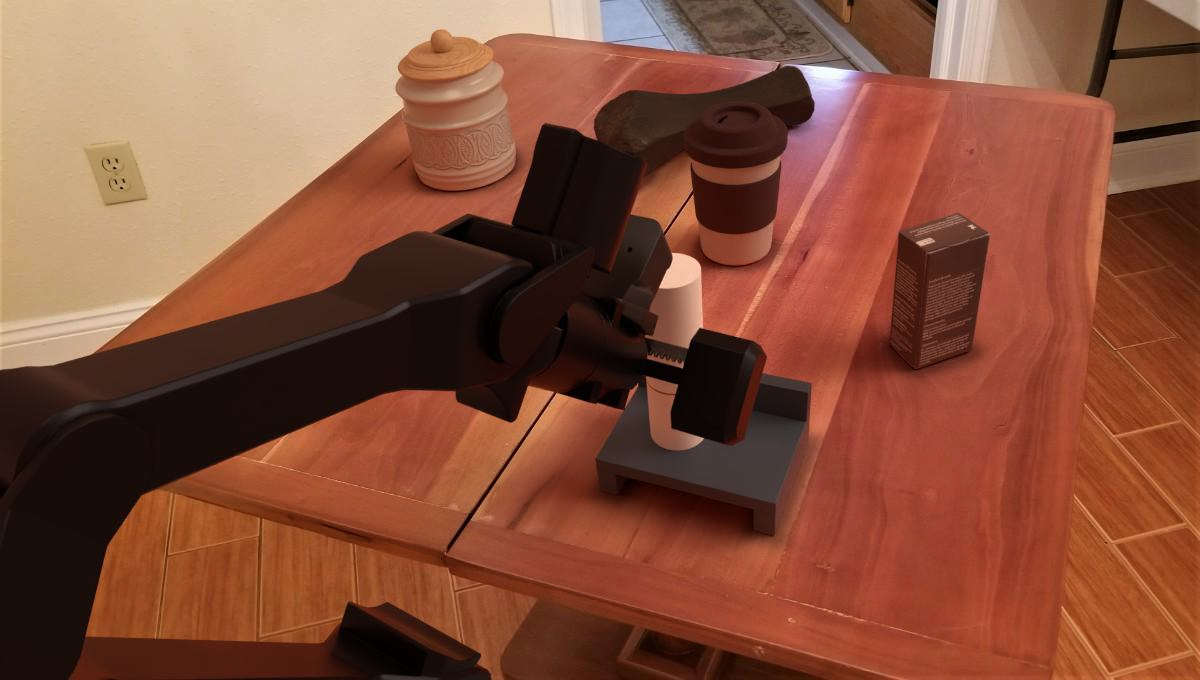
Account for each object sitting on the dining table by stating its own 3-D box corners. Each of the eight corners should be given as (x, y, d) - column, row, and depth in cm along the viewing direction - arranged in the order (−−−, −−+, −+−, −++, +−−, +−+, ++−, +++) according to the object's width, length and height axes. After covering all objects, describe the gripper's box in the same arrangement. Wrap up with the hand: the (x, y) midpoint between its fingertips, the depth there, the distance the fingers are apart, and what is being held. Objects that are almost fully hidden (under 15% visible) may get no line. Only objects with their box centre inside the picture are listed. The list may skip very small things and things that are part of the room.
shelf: (774, 536, 68) (776, 474, 64) (599, 490, 73) (590, 430, 69) (808, 443, 75) (812, 382, 71) (645, 407, 80) (640, 348, 76)
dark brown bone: (607, 203, 112) (799, 163, 122) (629, 146, 103) (834, 108, 113) (574, 133, 116) (763, 100, 126) (592, 73, 107) (794, 42, 117)
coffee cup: (802, 257, 96) (808, 121, 87) (716, 285, 93) (713, 148, 84) (753, 214, 103) (754, 85, 94) (672, 239, 101) (665, 109, 92)
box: (941, 324, 85) (959, 209, 78) (972, 352, 82) (995, 235, 74) (883, 343, 84) (896, 227, 77) (913, 372, 81) (930, 254, 73)
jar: (513, 189, 113) (488, 46, 102) (407, 197, 114) (372, 56, 103) (522, 140, 123) (501, 6, 112) (425, 148, 124) (395, 15, 113)
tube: (678, 458, 70) (668, 296, 61) (639, 431, 73) (624, 272, 64) (717, 430, 72) (714, 268, 63) (678, 404, 75) (669, 245, 66)
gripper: (757, 230, 48) (816, 291, 62) (461, 173, 56) (573, 239, 70) (698, 440, 47) (771, 454, 62) (408, 353, 55) (531, 382, 69)
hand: (656, 373), depth 66 cm, fingers open, 9 cm apart
